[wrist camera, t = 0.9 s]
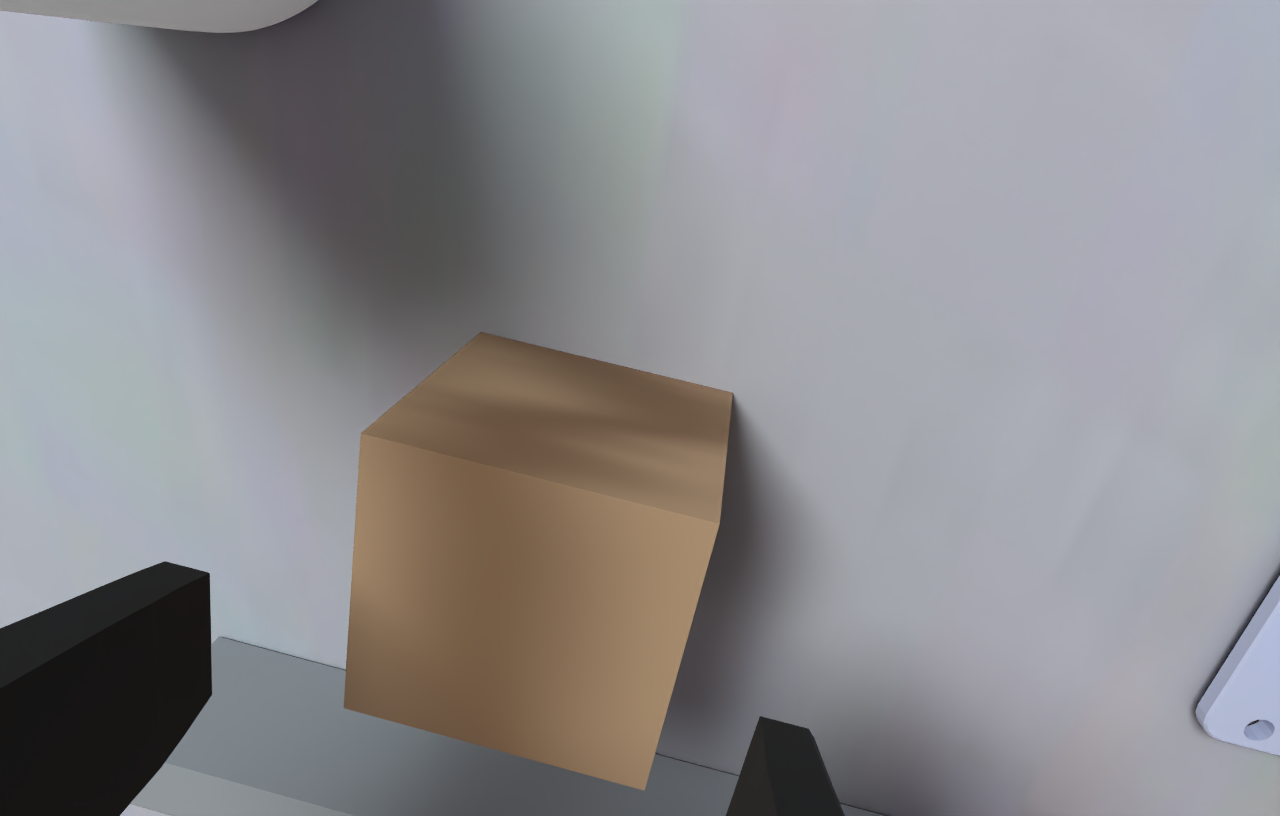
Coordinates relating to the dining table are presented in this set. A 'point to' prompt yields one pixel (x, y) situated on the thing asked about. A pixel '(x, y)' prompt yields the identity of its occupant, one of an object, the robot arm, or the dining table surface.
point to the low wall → (378, 760)
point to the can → (169, 12)
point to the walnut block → (534, 554)
